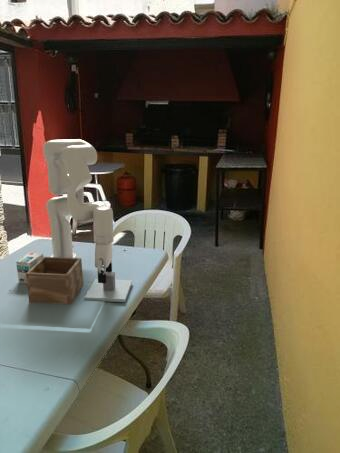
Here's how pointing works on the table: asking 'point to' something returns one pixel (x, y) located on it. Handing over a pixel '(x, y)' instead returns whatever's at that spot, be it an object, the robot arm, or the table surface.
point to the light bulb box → (27, 265)
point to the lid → (109, 289)
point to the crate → (55, 280)
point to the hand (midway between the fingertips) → (105, 277)
